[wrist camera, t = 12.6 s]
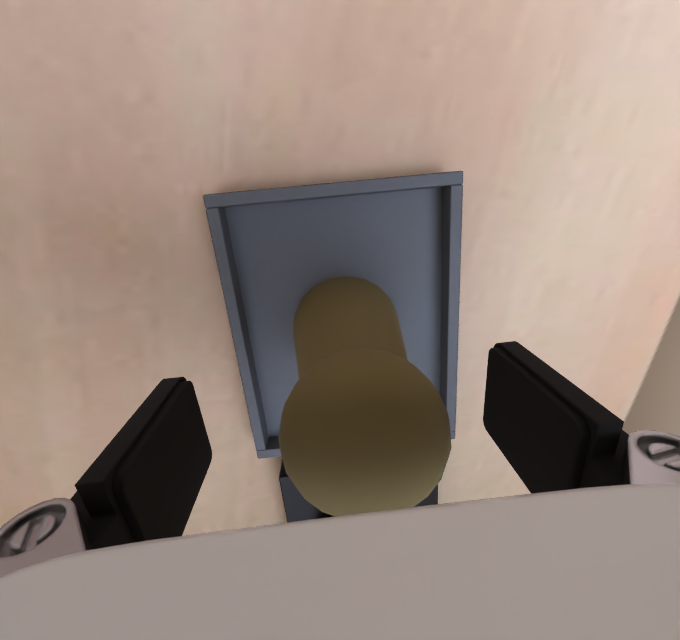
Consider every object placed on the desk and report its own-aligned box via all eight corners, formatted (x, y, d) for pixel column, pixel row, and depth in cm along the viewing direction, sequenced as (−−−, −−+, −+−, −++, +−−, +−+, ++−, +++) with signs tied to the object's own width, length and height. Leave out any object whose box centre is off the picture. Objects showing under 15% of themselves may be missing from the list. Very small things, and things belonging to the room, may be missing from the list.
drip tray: (215, 195, 17) (202, 194, 15) (448, 174, 17) (463, 170, 16) (263, 437, 22) (257, 459, 20) (444, 419, 22) (455, 439, 20)
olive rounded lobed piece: (414, 295, 19) (527, 409, 8) (376, 386, 20) (429, 573, 10) (311, 261, 18) (291, 340, 7) (280, 359, 20) (230, 533, 9)
